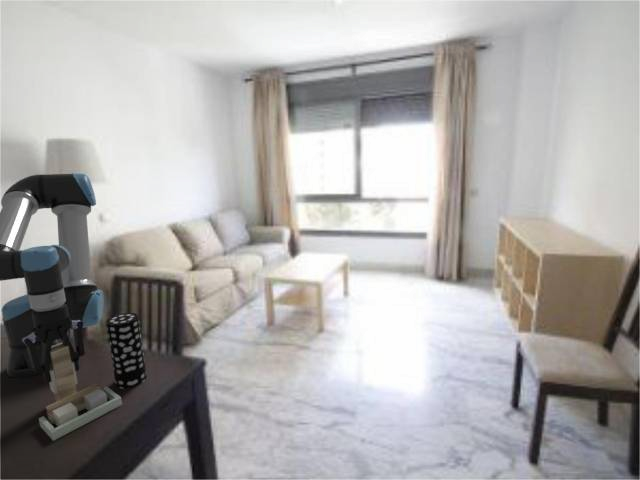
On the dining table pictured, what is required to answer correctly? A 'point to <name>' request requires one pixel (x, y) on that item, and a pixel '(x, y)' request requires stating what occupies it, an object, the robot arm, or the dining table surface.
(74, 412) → the off-white cube
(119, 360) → the spotted tube
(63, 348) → the cream t-shaped block
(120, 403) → the bay
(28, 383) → the dining table surface
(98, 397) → the gray cube
